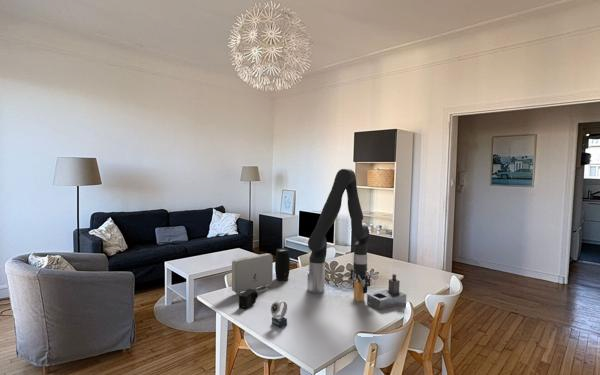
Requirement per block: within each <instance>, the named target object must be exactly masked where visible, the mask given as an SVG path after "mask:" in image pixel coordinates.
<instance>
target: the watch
mask: <svg viewBox="0 0 600 375" xmlns="http://www.w3.org/2000/svg"><path fill="white" fill-rule="evenodd" d="M282 303H283V306H282V310H281V305H282ZM287 311H288V304H287V302H286V301H284V300H282V299H279V300H277V301H275V302H273V303H272V305H271V306H270V312H271V315H272V318H271V325H273V326H275V327H276V328H278V329H282V328H284V327H286V326H288V318H287V317H285V316H286V314H287ZM279 312H280V314H278V313H279Z"/></svg>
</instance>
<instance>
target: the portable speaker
mask: <svg viewBox="0 0 600 375" xmlns="http://www.w3.org/2000/svg"><path fill="white" fill-rule="evenodd" d="M290 260H291V257H290V250H289V249H288V248H286V247H282V248H276V254H275V261H274V270H275V278H276V280H277V281H278V282H282V281H283V280H285V281H288V280H289V275H290V269H291V268H290V267H291V265H290V263H291V262H290Z"/></svg>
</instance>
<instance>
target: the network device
mask: <svg viewBox="0 0 600 375" xmlns="http://www.w3.org/2000/svg"><path fill="white" fill-rule="evenodd" d="M273 257H274V256H273V254H272V253H261V254H257V255H256V254H255V255H251V256H246V257H241V258H236V259H233V260H232V261H231V291H232V292H234V293H236V294H238V296H239V295H241V294H242V293H243V292H245V291H246V290H248V289H254V290H256V292H257V294H258V293H261V292H264V290H265V291H268V290H269V285H271V284H273V277H274V275H273V272H274V270H273V269H274V268H273V267H274V266H273V265H274V264H273V263H274V258H273ZM262 286H263V287H262ZM264 287H265V288H264ZM258 288H263V289H258ZM267 289H268V290H267Z"/></svg>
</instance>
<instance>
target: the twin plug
mask: <svg viewBox="0 0 600 375" xmlns="http://www.w3.org/2000/svg"><path fill="white" fill-rule="evenodd" d="M387 290H388V293H390V294H392V295H398V294H399V291H400V280H399V279H397V274H396V273H395V274H394V273H393V274H392V278H391V279H388V289H387Z"/></svg>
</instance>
